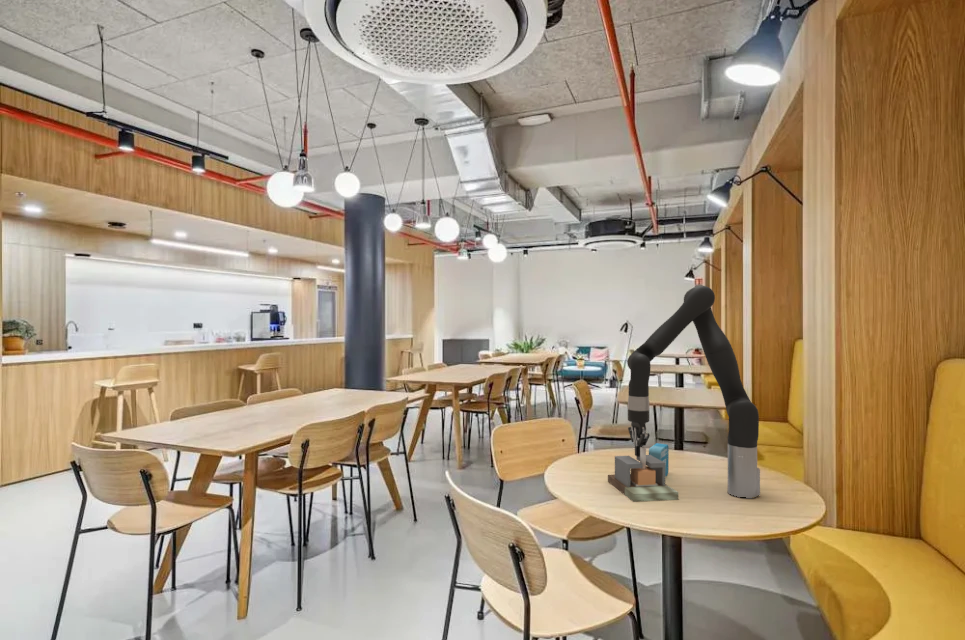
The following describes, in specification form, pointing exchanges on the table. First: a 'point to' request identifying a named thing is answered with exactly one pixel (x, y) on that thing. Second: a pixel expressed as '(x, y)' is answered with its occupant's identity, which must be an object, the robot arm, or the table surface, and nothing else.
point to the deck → (645, 491)
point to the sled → (643, 473)
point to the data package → (661, 454)
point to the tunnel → (628, 462)
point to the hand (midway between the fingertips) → (638, 456)
